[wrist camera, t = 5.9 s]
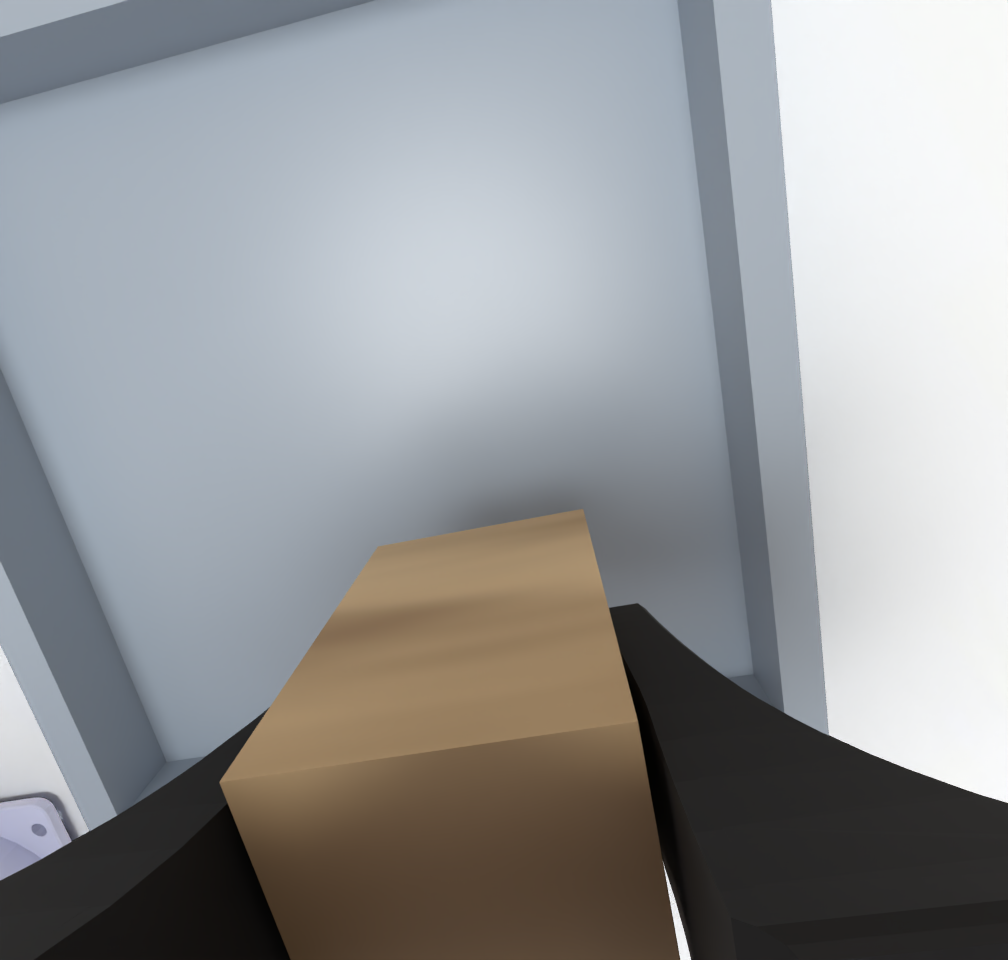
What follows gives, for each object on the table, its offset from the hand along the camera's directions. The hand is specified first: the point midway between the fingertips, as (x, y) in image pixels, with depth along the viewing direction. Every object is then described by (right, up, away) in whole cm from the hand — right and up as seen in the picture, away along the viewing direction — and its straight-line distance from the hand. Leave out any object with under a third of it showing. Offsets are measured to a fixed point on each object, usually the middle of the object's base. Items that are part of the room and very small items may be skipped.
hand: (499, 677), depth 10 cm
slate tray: (-3, +5, +6) cm, 8 cm away
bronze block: (0, +1, +1) cm, 2 cm away
